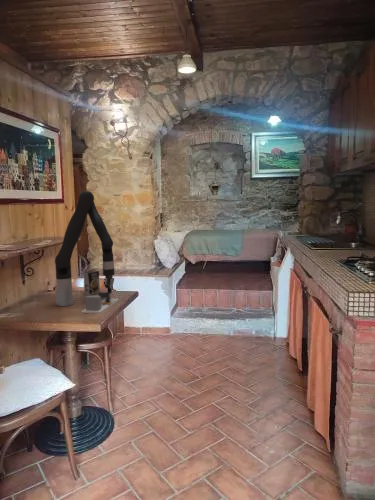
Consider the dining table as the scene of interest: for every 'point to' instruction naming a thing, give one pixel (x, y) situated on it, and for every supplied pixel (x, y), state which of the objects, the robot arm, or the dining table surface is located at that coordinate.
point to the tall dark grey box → (104, 297)
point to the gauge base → (96, 304)
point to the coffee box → (91, 282)
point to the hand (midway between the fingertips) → (109, 293)
